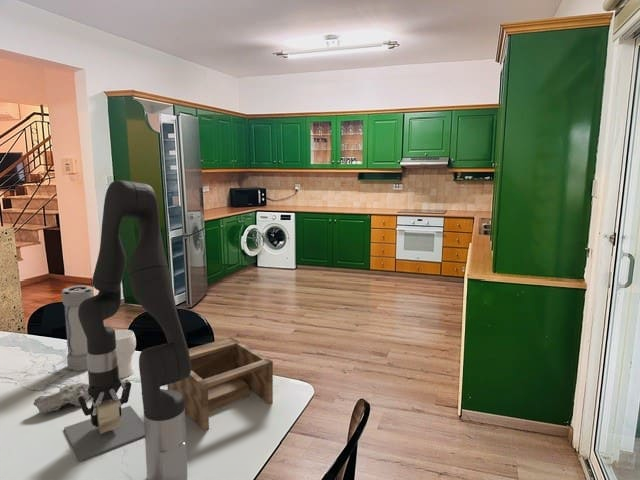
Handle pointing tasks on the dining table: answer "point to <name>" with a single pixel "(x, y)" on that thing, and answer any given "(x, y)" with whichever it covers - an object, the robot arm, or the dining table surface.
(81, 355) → the canister
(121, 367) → the cup
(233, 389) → the access box
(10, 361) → the dining table surface
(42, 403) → the rock
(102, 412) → the block
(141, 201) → the robot arm
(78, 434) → the mat
